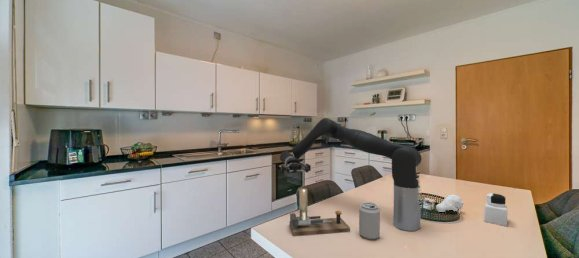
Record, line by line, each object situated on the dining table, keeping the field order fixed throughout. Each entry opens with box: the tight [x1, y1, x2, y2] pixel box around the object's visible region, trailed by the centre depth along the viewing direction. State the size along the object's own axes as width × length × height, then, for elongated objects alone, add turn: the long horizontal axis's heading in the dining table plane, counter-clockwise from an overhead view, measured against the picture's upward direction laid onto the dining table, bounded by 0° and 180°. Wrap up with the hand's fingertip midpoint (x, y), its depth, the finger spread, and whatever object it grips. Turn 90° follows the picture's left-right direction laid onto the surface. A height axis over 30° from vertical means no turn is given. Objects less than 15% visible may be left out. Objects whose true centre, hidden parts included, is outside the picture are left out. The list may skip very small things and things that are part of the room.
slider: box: [296, 187, 323, 225], centre depth 91 cm, size 10×4×14 cm, turn 99°
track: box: [289, 210, 351, 237], centre depth 91 cm, size 23×10×6 cm, turn 99°
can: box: [358, 201, 381, 241], centre depth 85 cm, size 8×8×12 cm
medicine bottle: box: [483, 192, 508, 227], centre depth 97 cm, size 7×7×12 cm
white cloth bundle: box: [435, 194, 464, 214], centre depth 107 cm, size 6×8×12 cm
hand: (298, 170), depth 101 cm, fingers open, 8 cm apart
